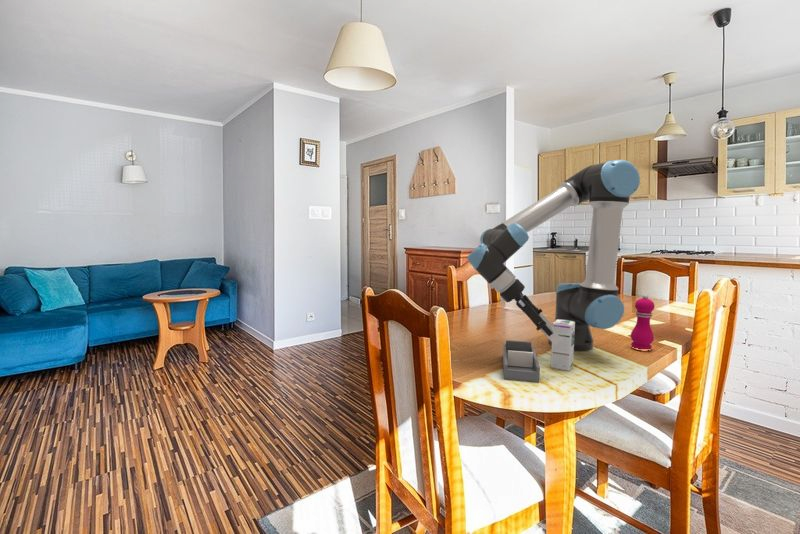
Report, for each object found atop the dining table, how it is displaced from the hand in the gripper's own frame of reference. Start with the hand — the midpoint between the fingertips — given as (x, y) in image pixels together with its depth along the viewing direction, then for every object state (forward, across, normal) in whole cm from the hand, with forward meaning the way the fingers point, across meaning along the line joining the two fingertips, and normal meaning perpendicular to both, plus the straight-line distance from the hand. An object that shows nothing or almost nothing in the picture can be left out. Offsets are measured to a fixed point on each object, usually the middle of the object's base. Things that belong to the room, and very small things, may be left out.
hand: (555, 336), depth 127 cm
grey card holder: (-1, +5, -14) cm, 15 cm away
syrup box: (+9, 0, -5) cm, 10 cm away
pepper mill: (+31, -28, +16) cm, 44 cm away
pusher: (-1, +3, -14) cm, 14 cm away
